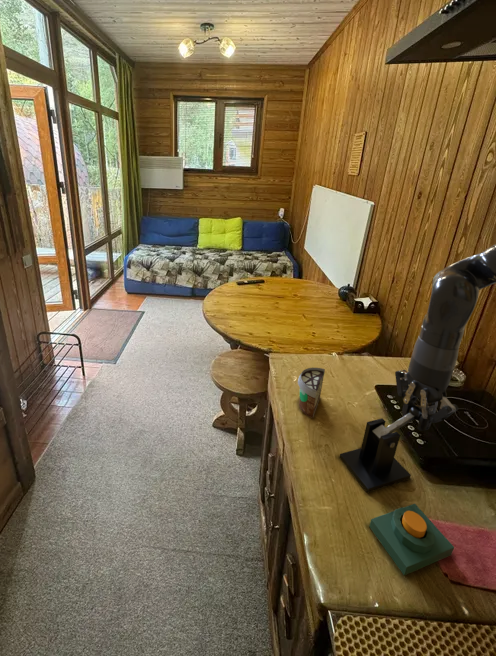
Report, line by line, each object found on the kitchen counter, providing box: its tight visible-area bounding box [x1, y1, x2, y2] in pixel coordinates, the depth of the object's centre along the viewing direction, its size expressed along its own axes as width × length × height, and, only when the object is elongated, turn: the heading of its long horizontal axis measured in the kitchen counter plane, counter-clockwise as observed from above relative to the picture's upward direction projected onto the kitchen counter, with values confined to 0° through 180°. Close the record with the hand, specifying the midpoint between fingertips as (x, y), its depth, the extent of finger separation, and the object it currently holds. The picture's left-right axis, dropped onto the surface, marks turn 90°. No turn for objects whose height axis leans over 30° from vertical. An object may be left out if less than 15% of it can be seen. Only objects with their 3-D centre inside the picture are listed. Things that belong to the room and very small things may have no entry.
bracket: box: [338, 417, 412, 494], centre depth 70 cm, size 12×9×12 cm
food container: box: [297, 367, 326, 419], centre depth 90 cm, size 12×6×10 cm, turn 149°
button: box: [402, 511, 427, 538], centre depth 57 cm, size 4×4×2 cm
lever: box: [372, 404, 422, 442], centre depth 70 cm, size 13×3×3 cm, turn 107°
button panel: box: [368, 503, 455, 576], centre depth 57 cm, size 11×8×4 cm
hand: (414, 422), depth 71 cm, fingers closed on lever, 3 cm apart
